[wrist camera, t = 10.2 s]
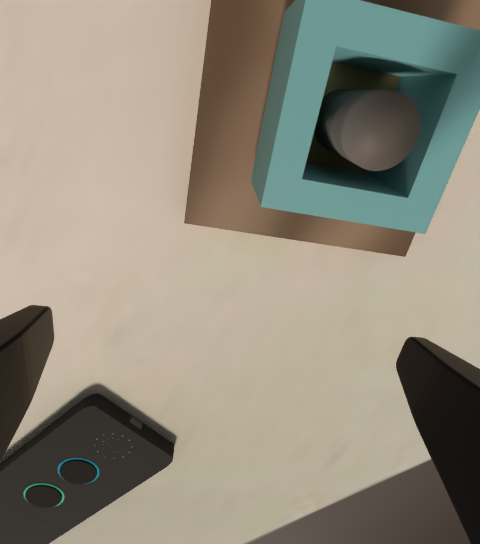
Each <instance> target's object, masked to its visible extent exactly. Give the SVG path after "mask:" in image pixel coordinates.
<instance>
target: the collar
mask: <svg viewBox="0 0 480 544" xmlns="http://www.w3.org/2000/svg"><path fill="white" fill-rule="evenodd" d="M332 61H334V62H338V63H343V64H347V65H352V66H356V67H361V68H365V69H369V70H374V71H378V72H383V73H387V74H392V75H396V76H400V77H399V80H398V83H397V86H396V89H395V91H397V92H400V93H403V94H405V95H406V96H408V97H409V98H410V99H411V100H412V101H413V102H414V104H415V105H416V107H417V109H418V112H419V116H420V131H419V136H418V139H417V141H416V144H415V146H414V147H413V149H412V151H411V152H410V153H409V155H408V156H407V157H406V158H405V159H404V160H403V161H401V162H400V163H399V164H397V165H395V166H394V167H392V168H389V169H386V170H382V171H370V170H368V173H367V174H365V173H360V172H354V171H349V170H343V169H338V168H333V167H327V166H322V165H316V164H311V163H306V161H307V157H308V153H309V149H310V145H311V142H312V138H313V134H314V130H315V126H316V122H317V118H318V115H319V111H320V107H321V103H322V99H323V95H324V91H325V87H326V84H327V80H328V76H329V72H330V68H331V64H332ZM479 109H480V30H476V29H472V28H468V27H464V26H460V25H456V24H452V23H448V22H444V21H440V20H436V19H433V18H429V17H425V16H421V15H417V14H413V13H409V12H405V11H401V10H397V9H393V8H389V7H385V6H381V5H377V4H373V3H369V2H365V1H361V0H295V1H294V2H293V3H292V4H291V5H290V6H289V7H288V9H287V10H286V11H285V12H284V15H283V20H282V25H281V30H280V36H279V41H278V46H277V51H276V56H275V61H274V66H273V71H272V76H271V81H270V86H269V91H268V96H267V101H266V106H265V111H264V116H263V121H262V127H261V132H260V137H259V142H258V147H257V152H256V157H255V162H254V167H253V172H252V177H251V182H252V185H253V188H254V190H255V193H256V196H257V198H258V201H259V204H260V206H261V207H264V208H270V209H277V210H283V211H289V212H295V213H301V214H307V215H313V216H319V217H325V218H331V219H338V220H344V221H350V222H356V223H362V224H368V225H374V226H380V227H386V228H392V229H398V230H405V231H411V232H417V233H423V234H425V233H426V231H427V228H428V226H429V224H430V222H431V219H432V217H433V215H434V212H435V210H436V208H437V206H438V203H439V201H440V199H441V196H442V194H443V192H444V189H445V187H446V185H447V183H448V180H449V178H450V176H451V173H452V171H453V169H454V166H455V164H456V162H457V160H458V157H459V155H460V153H461V150H462V148H463V146H464V144H465V141H466V139H467V137H468V134H469V132H470V130H471V127H472V125H473V123H474V121H475V118H476V116H477V114H478V111H479Z"/></svg>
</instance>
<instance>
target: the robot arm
mask: <svg viewBox="0 0 480 544" xmlns="http://www.w3.org/2000/svg"><path fill="white" fill-rule="evenodd" d="M53 341H54V329H53V317H52V311H51V308H50V307H48V306H37V305H31V306H28V307H26V308H24V309H22V310H20V311H17V312H15V313H13V314H11V315H9V316H7V317H5V318H2V319H0V461H1V460H2V458H3V456H4V454H5V452H6V450H7V448H8V446H9V444H10V442H11V440H12V438H13V436H14V435H15V433H16V431H17V429H18V427H19V425H20V423H21V421H22V419H23V417H24V415H25V413H26V411H27V409H28V407H29V405H30V403H31V401H32V398H33V396H34V393H35V391H36V388H37V385H38V383H39V380H40V377H41V375H42V372H43V369H44V367H45V364H46V361H47V359H48V356H49V353H50V351H51V348H52V345H53ZM396 368H397V372H398V375H399V378H400V381H401V384H402V387H403V390H404V393H405V395H406V398H407V401H408V404H409V407H410V410H411V413H412V416H413V418H414V421H415V423H416V426H417V428H418V430H419V432H420V435H421V437H422V439H423V441H424V443H425V446H426V448H427V450H428V452H429V454H430V456H431V459H432V461H433V463H434V465H435V467H436V470H437V472H438V474H439V476H440V478H441V480H442V483H443V485H444V487H445V489H446V491H447V493H448V496H449V498H450V500H451V502H452V504H453V506H454V509H455V511H456V513H457V515H458V517H459V520H460V522H461V524H462V526H463V528H464V531H465V533H466V535H467V537H468V539H469V541H470V544H480V369H479V368H477V367H475V366H473V365H472V364H470V363H468V362H466V361H464V360H463V359H461V358H459V357H457V356H456V355H454V354H452V353H450V352H448V351H447V350H445V349H443V348H441V347H440V346H438V345H436V344H434V343H433V342H431V341H429V340H427V339H425V338H420V337H409V338H407V339H406V341H405V343H404V345H403V347H402V350H401V352H400V354H399V357H398V359H397V362H396Z"/></svg>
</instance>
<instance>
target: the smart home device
mask: <svg viewBox="0 0 480 544" xmlns="http://www.w3.org/2000/svg"><path fill="white" fill-rule="evenodd" d="M173 453H174V444H173V443H171V442H170V441H168V440H167V439H165V438H164V437H163V436H161V435H160V434H158V433H157V432H155V431H154V430H152V429H151V428H149V427H148V426H146V425H145V424H143V423H142V422H140V421H139V420H137V419H136V418H134V417H133V416H131V415H130V414H129V413H127V412H126V411H124V410H123V409H121V408H120V407H118V406H117V405H115V404H114V403H112V402H111V401H109V400H108V399H106V398H105V397H103V396H102V395H100V394H93V395H90V396H88V397H86V398H85V399H83V400H82V401H81V402H79V403H78V404H77V405H75V406H74V407H73V408H72V409H70V410H69V411H68V412H66V413H65V414H64V415H63V416H61V417H60V418H59V419H57V420H56V421H55V422H54V423H52V424H51V425H50V426H48V427H47V428H46V429H45V430H43V431H42V432H41V433H39V434H38V435H37V436H36V437H34V438H33V439H32V440H30V441H29V442H28V443H27V444H25V445H24V446H23V447H21V448H20V449H19V450H18V451H16V452H15V453H14V454H12V455H11V456H10V457H9V458H7V459H6V460H5V461H3V462H2V463H1V464H0V544H49V543H50V542H52V541H53V540H55V539H56V538H58V537H60V536H61V535H63V534H64V533H66V532H67V531H69V530H70V529H72V528H73V527H75V526H76V525H78V524H80V523H81V522H83V521H84V520H86V519H87V518H89V517H90V516H92V515H93V514H95V513H96V512H98V511H99V510H101V509H103V508H104V507H106V506H107V505H109V504H110V503H112V502H113V501H115V500H116V499H118V498H119V497H121V496H123V495H124V494H126V493H127V492H129V491H130V490H132V489H133V488H135V487H136V486H138V485H139V484H141V483H143V482H144V481H146V480H147V479H149V478H150V477H152V476H153V475H155V474H156V473H158V472H159V471H161V470H163V469H164V468H166V467H167V466H168V465H169V464H170V463H171V462H172V460H173Z"/></svg>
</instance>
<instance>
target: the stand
mask: <svg viewBox="0 0 480 544" xmlns="http://www.w3.org/2000/svg"><path fill="white" fill-rule="evenodd" d="M294 1H295V0H211V8H210V16H209V24H208V32H207V41H206V49H205V57H204V65H203V73H202V82H201V90H200V98H199V106H198V114H197V122H196V131H195V139H194V147H193V155H192V163H191V172H190V180H189V188H188V196H187V204H186V213H185V221H184V223H187V224H193V225H200V226H207V227H213V228H220V229H226V230H233V231H240V232H246V233H253V234H259V235H266V236H273V237H279V238H286V239H292V240H299V241H306V242H312V243H319V244H325V245H332V246H339V247H345V248H352V249H358V250H365V251H372V252H378V253H385V254H391V255H398V256H406V254H407V251H408V249H409V247H410V244H411V242H412V239H413V237H414V235H415V232H411V231H405V230H398V229H392V228H386V227H380V226H374V225H368V224H362V223H356V222H350V221H344V220H338V219H331V218H325V217H319V216H313V215H307V214H301V213H295V212H289V211H283V210H277V209H270V208H264V207H261V206H260V204H259V201H258V198H257V196H256V193H255V190H254V188H253V185H252V182H251V177H252V172H253V167H254V162H255V157H256V152H257V147H258V142H259V137H260V132H261V127H262V121H263V116H264V111H265V106H266V101H267V96H268V91H269V86H270V81H271V76H272V71H273V66H274V61H275V56H276V51H277V46H278V41H279V36H280V30H281V25H282V20H283V15H284V12H285V11H286V10H287V9H288V7H289V6H290V5H291V4H292V3H293V2H294ZM361 1H365V2H369V3H373V4H377V5H381V6H385V7H389V8H393V9H397V10H401V11H405V12H409V13H413V14H417V15H421V16H425V17H429V18H433V19H436V20H440V21H444V22H448V23H452V24H456V25H460V26H464V27H468V28H472V29H476V30H480V0H361ZM399 77H400V76H396V75H392V74H387V73H383V72H378V71H374V70H369V69H365V68H361V67H356V66H352V65H347V64H343V63H338V62H334V61H332V64H331V68H330V72H329V76H328V80H327V84H326V87H325V91H324V95H323V99H322V103H321V107H320V111H319V115H318V118H317V122H316V126H315V130H314V134H313V138H312V142H311V145H310V149H309V153H308V157H307V161H306V163H311V164H316V165H322V166H327V167H333V168H338V169H343V170H349V171H354V172H360V173H365V174H367V173H368V170H370V171H382V170H386V169H389V168H392V167H394V166H395V165H397V164H399V163H400V162H401V161H403V160H404V159H405V158H406V157H407V156H408V155H409V153H410V152H411V151H412V149H413V147H414V146H415V144H416V141H417V139H418V136H419V131H420V116H419V112H418V109H417V107H416V105H415V104H414V102H413V101H412V100H411V99H410V98H409V97H408V96H406V95H405V94H403V93H400V92H397V91H395V89H396V86H397V83H398V80H399Z"/></svg>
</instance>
